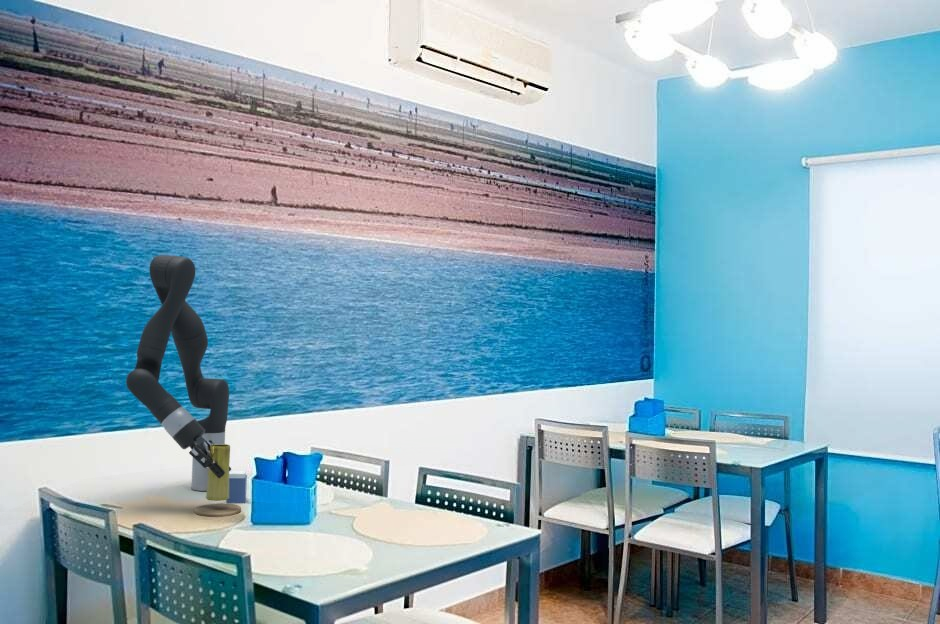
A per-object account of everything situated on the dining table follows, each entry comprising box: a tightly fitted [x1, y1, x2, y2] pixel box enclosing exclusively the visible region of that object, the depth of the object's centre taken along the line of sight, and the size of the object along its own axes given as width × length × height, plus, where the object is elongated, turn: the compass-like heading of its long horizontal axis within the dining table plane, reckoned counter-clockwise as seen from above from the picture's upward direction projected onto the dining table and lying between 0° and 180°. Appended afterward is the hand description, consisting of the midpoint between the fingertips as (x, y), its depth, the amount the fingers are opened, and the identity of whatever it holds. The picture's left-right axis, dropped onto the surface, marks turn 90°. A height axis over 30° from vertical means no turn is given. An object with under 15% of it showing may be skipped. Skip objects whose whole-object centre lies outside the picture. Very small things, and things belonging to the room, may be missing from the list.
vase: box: [205, 443, 231, 502], centre depth 230 cm, size 6×6×14 cm
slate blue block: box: [225, 470, 248, 504], centre depth 243 cm, size 5×5×8 cm
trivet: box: [194, 502, 242, 518], centre depth 230 cm, size 12×12×1 cm
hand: (225, 473), depth 230 cm, fingers closed on vase, 5 cm apart
